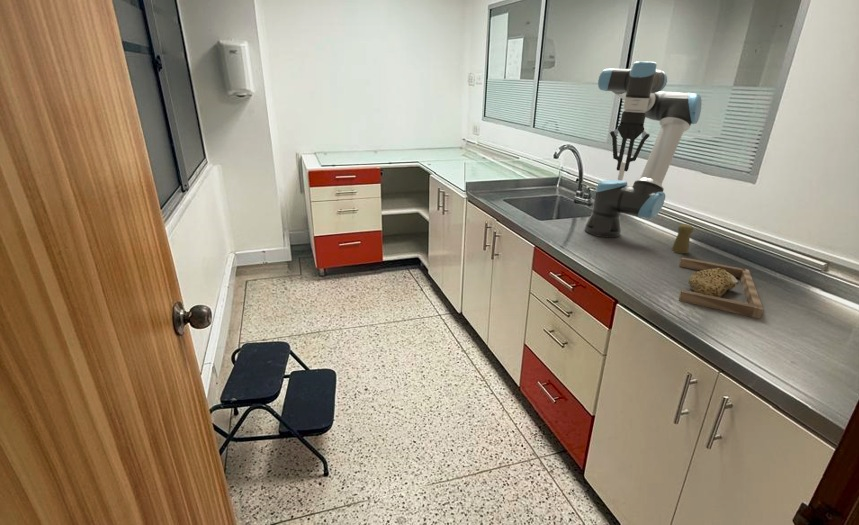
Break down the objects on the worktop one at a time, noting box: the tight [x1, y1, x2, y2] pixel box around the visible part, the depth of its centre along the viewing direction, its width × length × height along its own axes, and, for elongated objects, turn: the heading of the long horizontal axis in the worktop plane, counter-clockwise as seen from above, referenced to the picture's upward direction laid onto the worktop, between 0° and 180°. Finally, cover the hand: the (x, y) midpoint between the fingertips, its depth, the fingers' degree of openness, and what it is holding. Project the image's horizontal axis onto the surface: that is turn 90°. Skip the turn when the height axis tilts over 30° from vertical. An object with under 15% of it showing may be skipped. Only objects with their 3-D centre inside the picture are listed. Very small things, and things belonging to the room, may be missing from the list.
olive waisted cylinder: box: [671, 223, 694, 254], centre depth 176 cm, size 6×6×11 cm
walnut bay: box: [678, 257, 764, 319], centre depth 145 cm, size 34×21×3 cm, turn 152°
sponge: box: [688, 268, 739, 298], centre depth 141 cm, size 13×8×20 cm
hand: (620, 179), depth 159 cm, fingers closed
